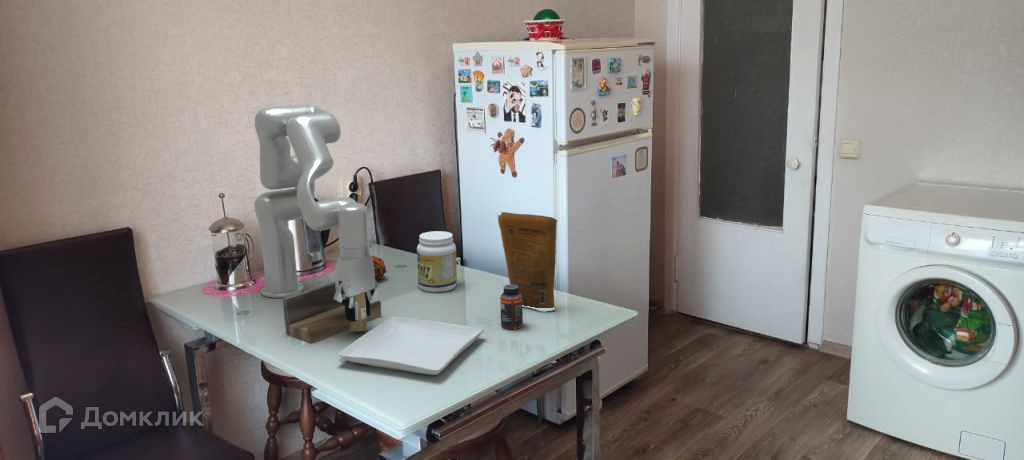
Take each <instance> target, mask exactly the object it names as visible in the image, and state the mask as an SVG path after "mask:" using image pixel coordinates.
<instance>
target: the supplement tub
mask: <svg viewBox="0 0 1024 460" xmlns="http://www.w3.org/2000/svg"><path fill="white" fill-rule="evenodd" d="M453 236H454V235H453V233H451V232H449V231H441V230H440V231H439V230H435V231H427V232H422V233H421V234H419V239H418V241H419V244H417V247H416V257H417V259H416V261H417V283H418V287H419V288H420V290H423V291H425V292H428V293H429V292H430V293H443V292H444V293H445V292H448V291H451V290H454V289H455V287H456V286H457V284H458V279H457V278H458V275H457V274H458V272H457V270H458V269H457V247H456V244H455V243H454V242H453V241H454V237H453Z"/></svg>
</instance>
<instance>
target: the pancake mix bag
mask: <svg viewBox="0 0 1024 460" xmlns="http://www.w3.org/2000/svg"><path fill="white" fill-rule="evenodd" d="M497 221H498V223H497V224H498V226H499V232H500V234H501V235H500V236H501V244H502V248H503V251H504V258H505V263H506V268H507V276H508V280H509V281H508V282H509V284H514V285H517V286H518V290H519V291H518V292H519V293H520V294H521V295H522V305H524V306H530V307H535V308H553V307H555V294H554V293H555V292H554V290H555V272H556V264H557V263H556V261H557V260H556V258H557V256H556V253H557V229H558V228H557V227H558V226H557V225H558V224H557V223H558V219H556V218H554V217H551V216H546V215H539V214H529V213H527V214H526V213H514V212H507V211H501V214H497ZM555 308H556V307H555Z"/></svg>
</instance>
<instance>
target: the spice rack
mask: <svg viewBox="0 0 1024 460" xmlns="http://www.w3.org/2000/svg"><path fill="white" fill-rule="evenodd" d="M335 294H336V288H335V281H332V282H330V283H326V284H323V285H321V286H317V287H314V288H311V289H308V290H305V291H304V290H303V291H302V292H300V293H298V294H295V295H292V296H288V297H282V303H283V312H284V313H283V314H284V324H285V334H286V335H288V336H290V337H293V338H295V339H298V340H301V341H304V342H307V343H309V344H312V343H315V342H317V341H321V340H323V339H325V338H326V339H327V338H329V337H331V336H334V335H336V334H339V333H341V332H344V331H346V330H347V331H348V330H349V329H350V327H351V322H350V321H349V320H346V317H345V306H343V305H342V304H341V303H340V302H338V301H336V300H334V296H335ZM343 295H344V293H343V294H342V298H343ZM348 301H349V298H348ZM370 314H371V315H370V316H366V318H367V322H369V321H372V320H375V319H378V318H380V317H382V305H381V300H375V301H372V302H370Z"/></svg>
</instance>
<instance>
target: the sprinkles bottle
mask: <svg viewBox="0 0 1024 460" xmlns="http://www.w3.org/2000/svg"><path fill="white" fill-rule="evenodd" d="M362 289H364V288H363V287H362V288H361V289H360V290H362ZM362 291H363V290H362ZM353 307H355V321H354V322H352V321H350V322H351V327H350V328H349V329H350V330H351V331H353V332H363V331H366V330H367V329H368V321H367V318H366V316H367V314H366V300H365V292H361V293H360V294H358V295H355V296H354V300H353Z"/></svg>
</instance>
